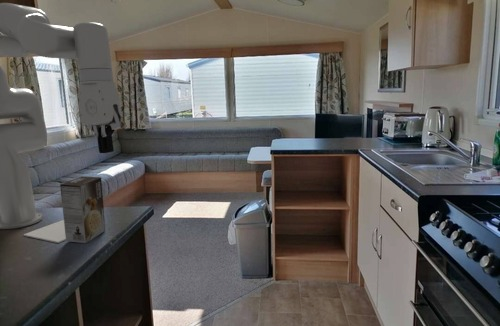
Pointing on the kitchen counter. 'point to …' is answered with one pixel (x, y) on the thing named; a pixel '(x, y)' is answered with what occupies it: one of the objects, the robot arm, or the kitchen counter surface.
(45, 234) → the mat
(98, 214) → the coffee box
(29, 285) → the kitchen counter surface
